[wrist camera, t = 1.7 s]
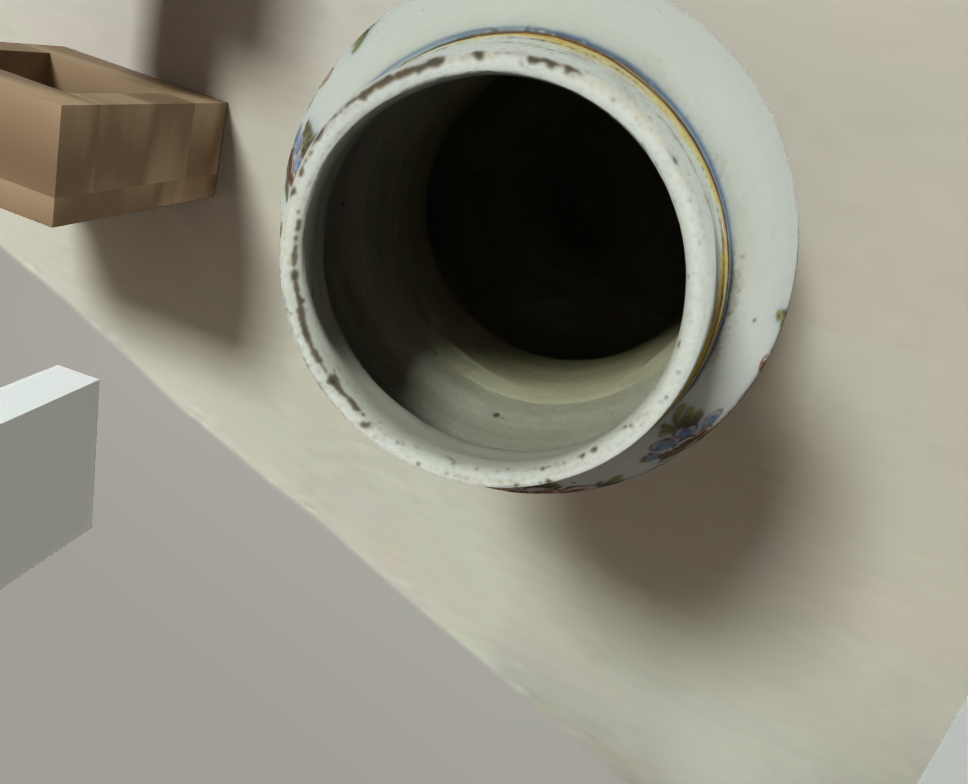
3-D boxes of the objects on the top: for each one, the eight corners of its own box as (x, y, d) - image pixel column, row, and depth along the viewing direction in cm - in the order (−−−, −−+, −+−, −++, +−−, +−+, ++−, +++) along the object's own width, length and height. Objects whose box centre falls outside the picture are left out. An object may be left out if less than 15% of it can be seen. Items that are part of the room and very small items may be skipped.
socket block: (63, 46, 36) (-147, 31, 27) (227, 102, 35) (61, 105, 26) (56, 139, 38) (-145, 152, 29) (213, 196, 36) (52, 227, 28)
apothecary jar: (782, 327, 32) (834, 572, 15) (480, 356, 36) (265, 578, 19) (757, -19, 28) (791, -174, 12) (426, 53, 32) (109, 10, 16)
